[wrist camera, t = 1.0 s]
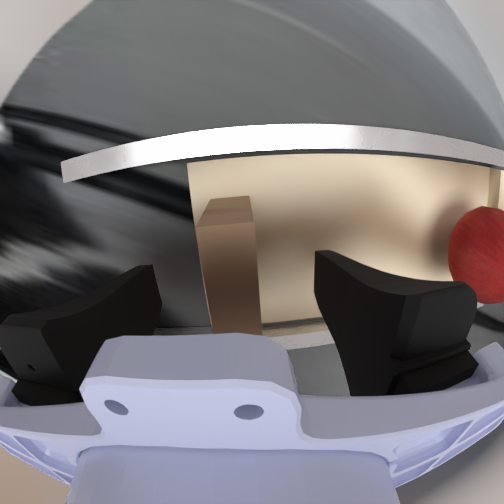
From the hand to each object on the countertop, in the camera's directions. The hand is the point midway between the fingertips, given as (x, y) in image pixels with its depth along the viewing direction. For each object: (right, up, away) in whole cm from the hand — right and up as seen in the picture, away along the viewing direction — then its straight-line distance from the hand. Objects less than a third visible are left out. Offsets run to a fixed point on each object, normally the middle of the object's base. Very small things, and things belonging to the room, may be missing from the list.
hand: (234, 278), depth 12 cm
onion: (+15, +2, +4) cm, 16 cm away
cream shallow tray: (+9, +2, +4) cm, 10 cm away
